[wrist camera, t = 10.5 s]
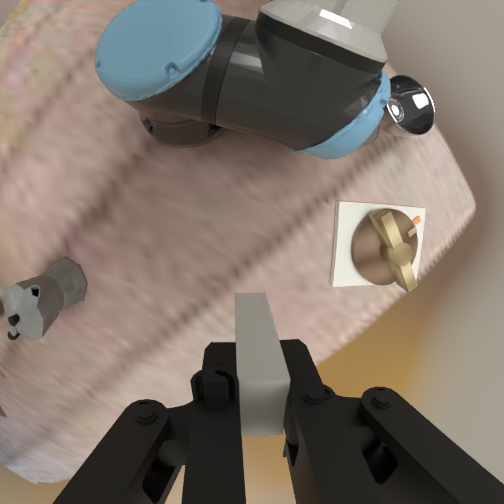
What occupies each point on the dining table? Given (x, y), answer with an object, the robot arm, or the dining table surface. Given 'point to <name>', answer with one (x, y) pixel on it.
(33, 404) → the dining table surface
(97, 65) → the robot arm
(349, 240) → the base plate
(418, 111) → the wine glass
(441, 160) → the dining table surface
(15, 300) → the coffeepot
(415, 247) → the capstan dial
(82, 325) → the dining table surface
